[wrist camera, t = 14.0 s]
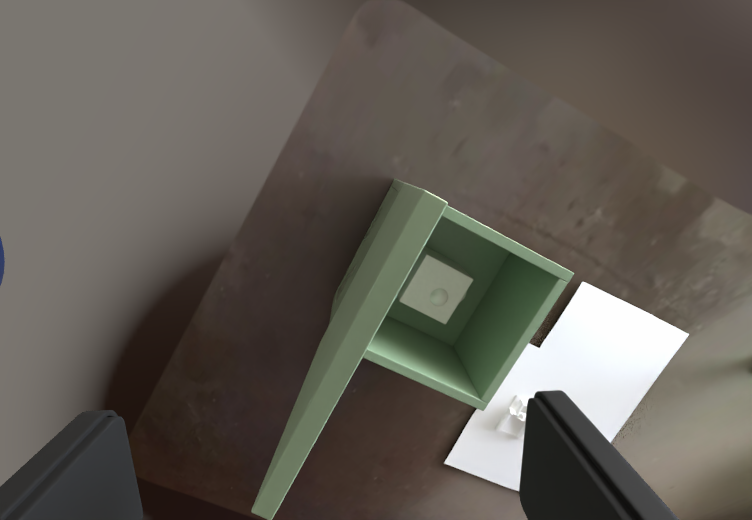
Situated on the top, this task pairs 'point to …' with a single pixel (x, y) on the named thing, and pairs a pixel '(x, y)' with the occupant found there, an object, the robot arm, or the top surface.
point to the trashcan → (465, 309)
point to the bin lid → (351, 335)
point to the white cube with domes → (435, 285)
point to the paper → (570, 379)
